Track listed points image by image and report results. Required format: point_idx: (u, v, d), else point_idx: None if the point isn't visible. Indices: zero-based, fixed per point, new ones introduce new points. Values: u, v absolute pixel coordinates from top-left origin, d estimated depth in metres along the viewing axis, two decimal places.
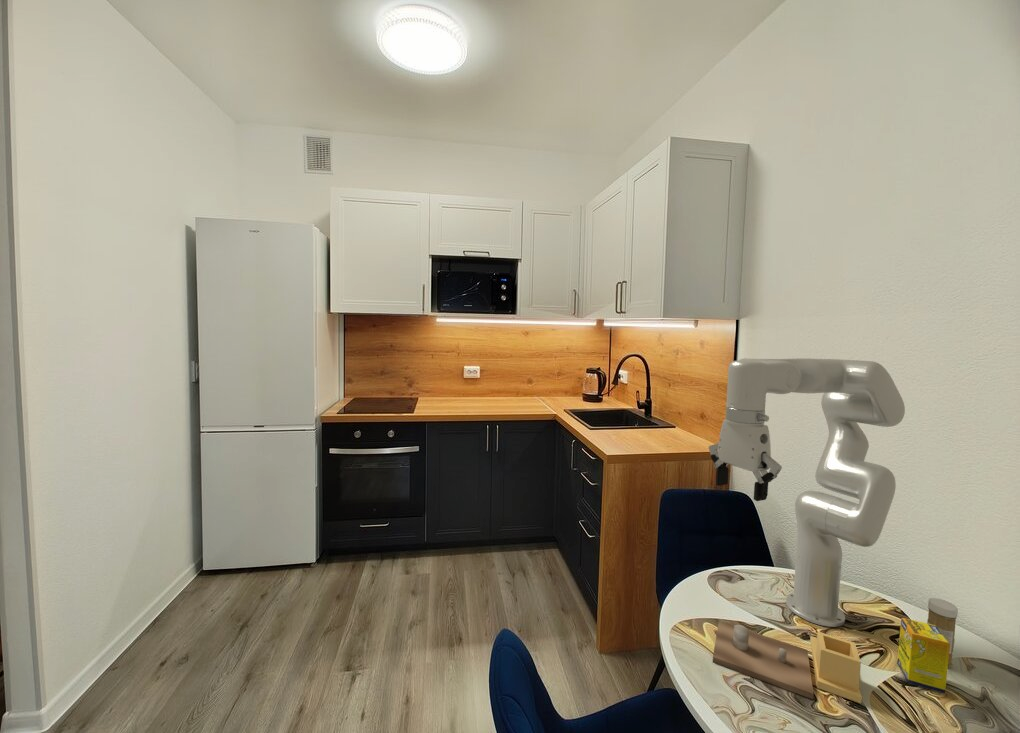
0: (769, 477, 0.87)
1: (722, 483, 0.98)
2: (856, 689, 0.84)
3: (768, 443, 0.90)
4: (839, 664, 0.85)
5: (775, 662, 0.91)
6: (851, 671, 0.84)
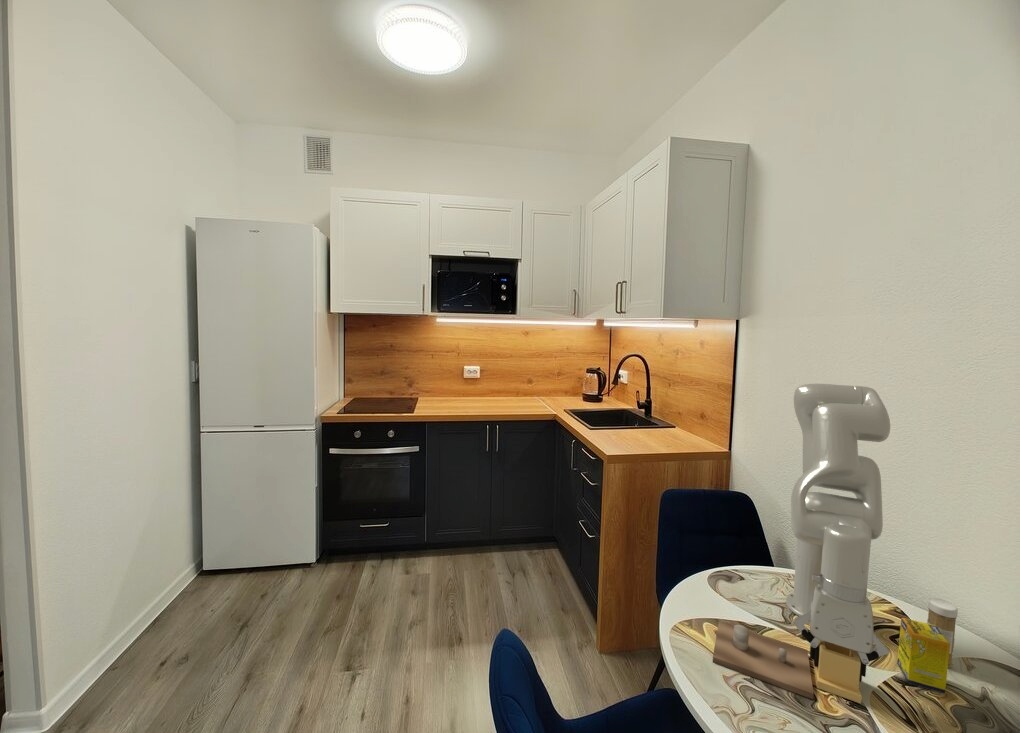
0: None
1: None
2: (856, 689, 0.84)
3: (812, 605, 0.89)
4: (839, 664, 0.85)
5: (775, 662, 0.91)
6: (851, 671, 0.84)
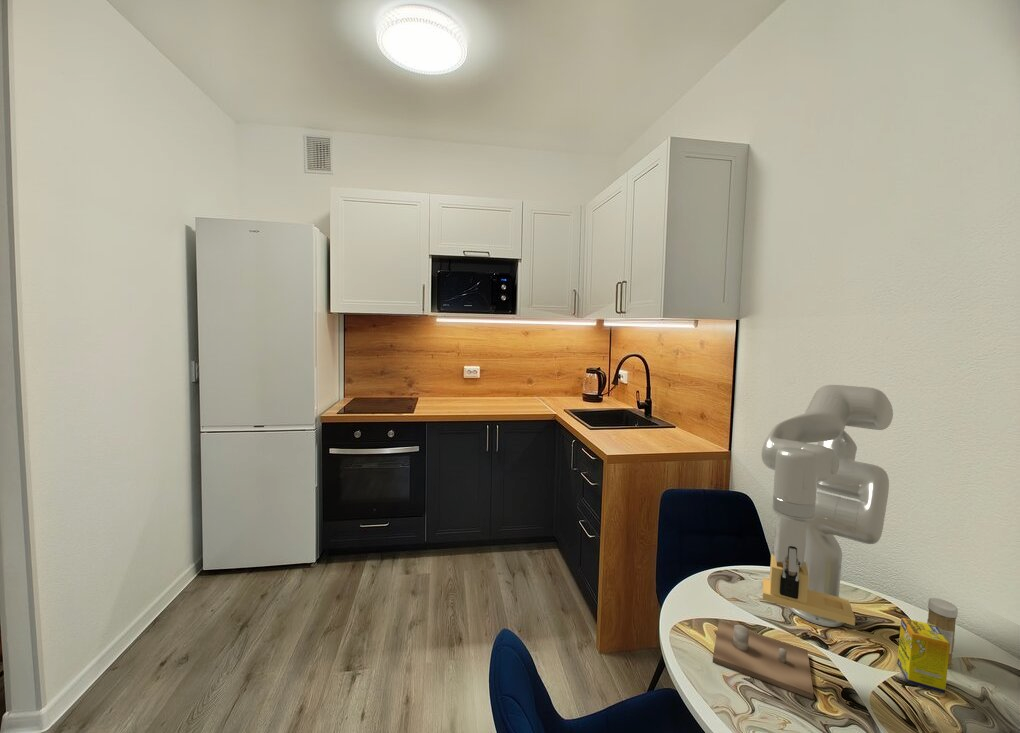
0: None
1: None
2: (770, 592, 0.90)
3: None
4: None
5: (775, 662, 0.91)
6: None
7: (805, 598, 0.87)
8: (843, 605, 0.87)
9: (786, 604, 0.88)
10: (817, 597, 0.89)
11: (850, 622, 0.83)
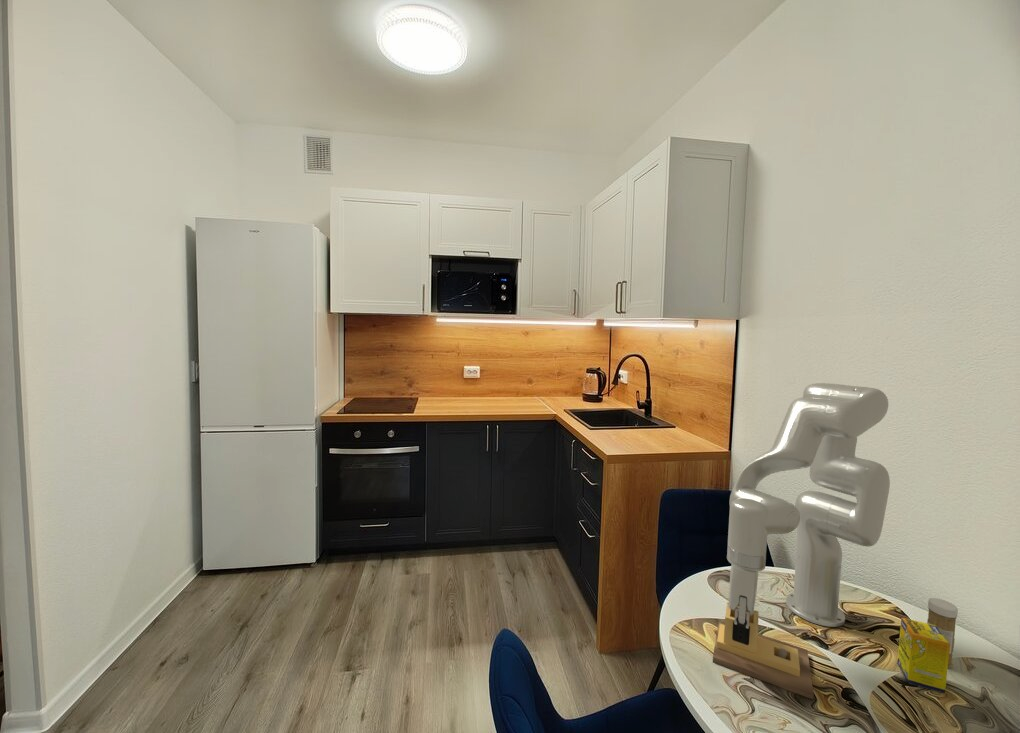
0: None
1: None
2: (723, 640, 0.95)
3: None
4: None
5: None
6: None
7: (755, 648, 0.92)
8: (791, 655, 0.91)
9: (738, 653, 0.93)
10: (768, 646, 0.94)
11: (795, 673, 0.88)
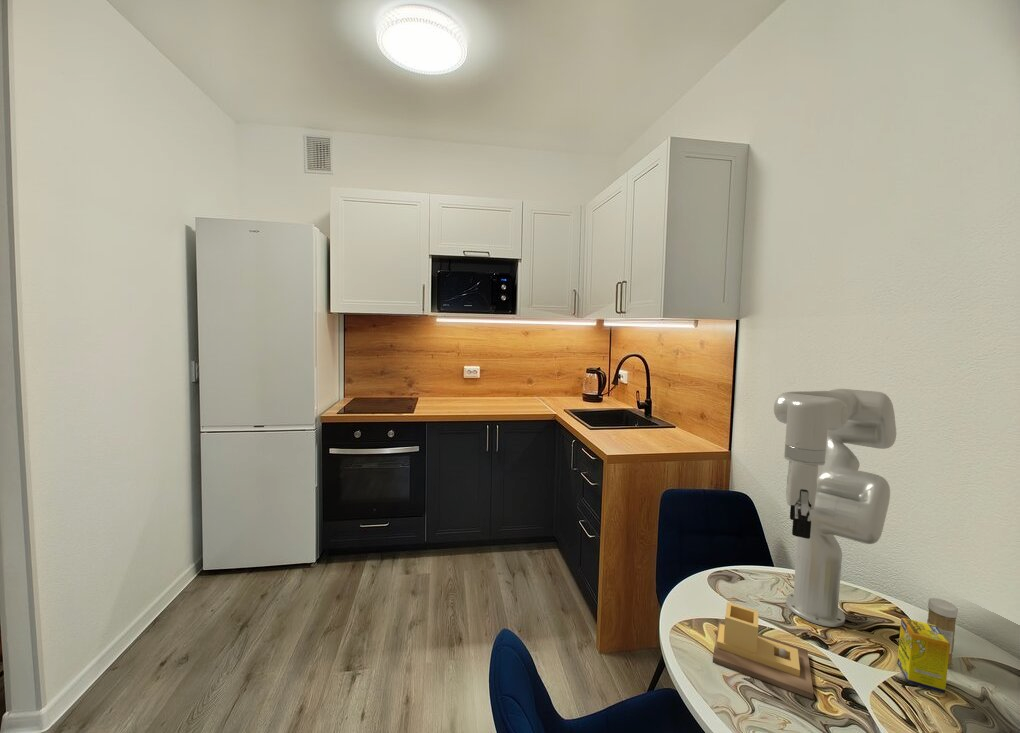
0: None
1: None
2: (723, 640, 0.95)
3: None
4: None
5: None
6: None
7: (755, 648, 0.92)
8: (791, 655, 0.91)
9: (738, 653, 0.93)
10: (768, 646, 0.94)
11: (795, 673, 0.88)
